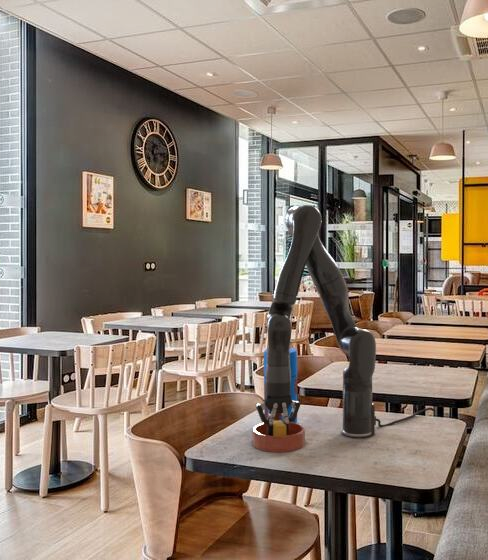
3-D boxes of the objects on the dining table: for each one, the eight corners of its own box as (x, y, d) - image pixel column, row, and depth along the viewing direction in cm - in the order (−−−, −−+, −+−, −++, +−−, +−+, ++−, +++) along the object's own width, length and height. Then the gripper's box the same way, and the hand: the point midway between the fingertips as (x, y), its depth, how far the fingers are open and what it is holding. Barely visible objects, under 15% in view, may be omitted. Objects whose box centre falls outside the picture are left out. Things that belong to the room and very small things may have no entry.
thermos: (293, 431, 192) (292, 353, 190) (260, 429, 194) (260, 352, 192) (300, 422, 202) (299, 348, 201) (269, 420, 204) (268, 347, 203)
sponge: (280, 436, 183) (281, 420, 183) (286, 442, 178) (286, 425, 177) (269, 437, 182) (269, 421, 182) (274, 443, 177) (274, 426, 176)
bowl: (296, 433, 190) (296, 419, 190) (311, 449, 175) (311, 433, 175) (248, 438, 186) (248, 423, 185) (259, 454, 171) (259, 438, 171)
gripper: (257, 383, 173) (257, 442, 174) (304, 380, 177) (304, 438, 178) (252, 377, 181) (252, 434, 181) (297, 375, 185) (297, 430, 186)
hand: (278, 435), depth 180 cm, fingers closed on sponge, 3 cm apart
